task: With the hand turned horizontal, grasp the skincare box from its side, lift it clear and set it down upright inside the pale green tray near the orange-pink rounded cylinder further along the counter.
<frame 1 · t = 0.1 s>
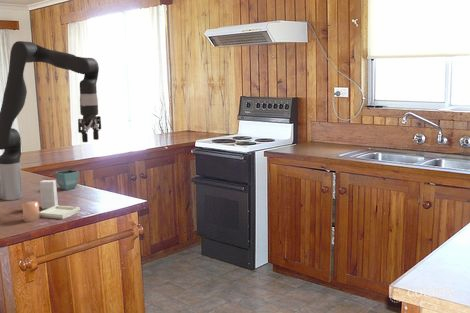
hand: (90, 140, 222), 29 cm above the worktop, tool pointing down, fingers open, 8 cm apart
flower pot: (68, 189, 258), on the worktop
skincare box: (49, 207, 223), on the worktop
tray: (59, 214, 212), on the worktop
orange-pink rounded cylinder: (31, 219, 204), on the worktop
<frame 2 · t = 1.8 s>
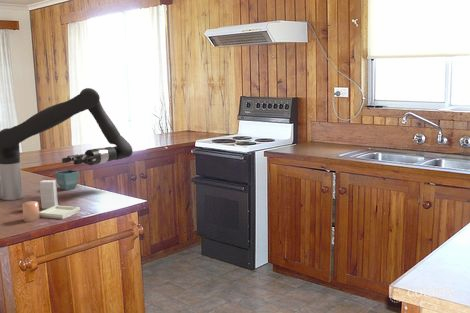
hand: (68, 161, 229), 19 cm above the worktop, tool horizontal, fingers open, 8 cm apart
nothing on the worktop moved.
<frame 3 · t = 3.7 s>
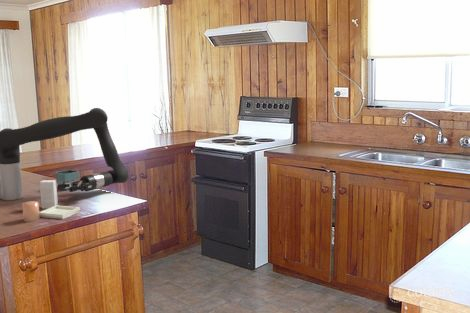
hand: (63, 188, 228), 7 cm above the worktop, tool horizontal, fingers open, 8 cm apart
nothing on the worktop moved.
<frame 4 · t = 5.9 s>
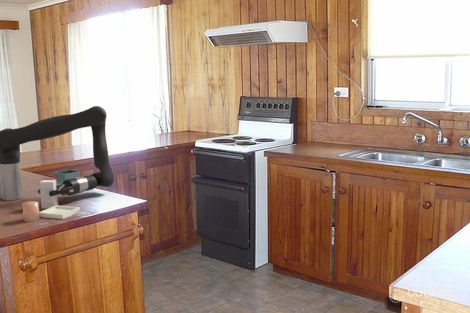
hand: (44, 192, 220), 7 cm above the worktop, tool horizontal, fingers closed on skincare box, 7 cm apart
skincare box: (49, 207, 223), on the worktop, touching gripper
everything else where it was.
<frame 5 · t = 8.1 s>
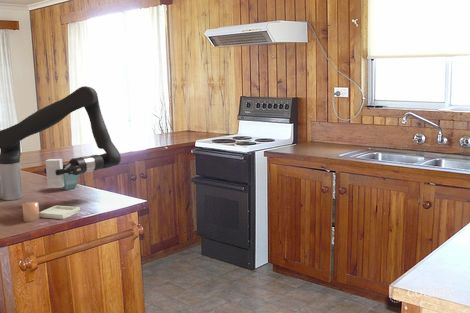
hand: (50, 171, 212), 18 cm above the worktop, tool horizontal, fingers closed on skincare box, 7 cm apart
skincare box: (56, 187, 215), point 11 cm above the worktop, touching gripper
everything else where it was.
when the fingers open (9 cm above the worktop, at t = 10.7 s): skincare box drops 1 cm, resting on tray.
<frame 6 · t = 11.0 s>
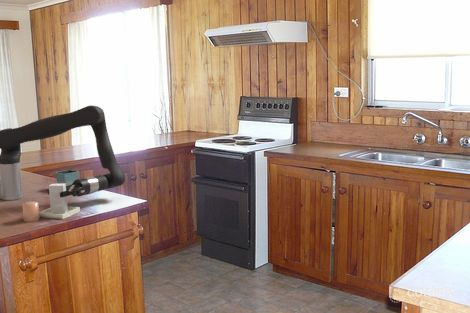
hand: (54, 193, 209), 9 cm above the worktop, tool horizontal, fingers open, 8 cm apart
skincare box: (59, 212, 212), point 1 cm above the worktop, touching tray
everything else where it was.
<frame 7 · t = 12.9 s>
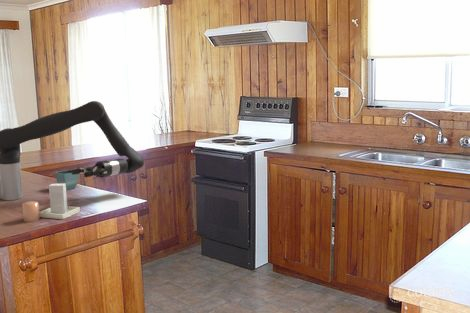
hand: (78, 173, 219), 15 cm above the worktop, tool horizontal, fingers open, 8 cm apart
nothing on the worktop moved.
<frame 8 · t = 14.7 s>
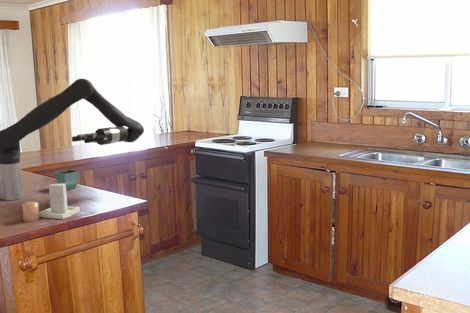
hand: (78, 139, 219), 30 cm above the worktop, tool horizontal, fingers open, 8 cm apart
nothing on the worktop moved.
at the end: skincare box inside the target area on the tray (0.3 cm from its centre), point 0.6 cm above the tray's base; skincare box tilted 0°; the gripper is holding nothing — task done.
